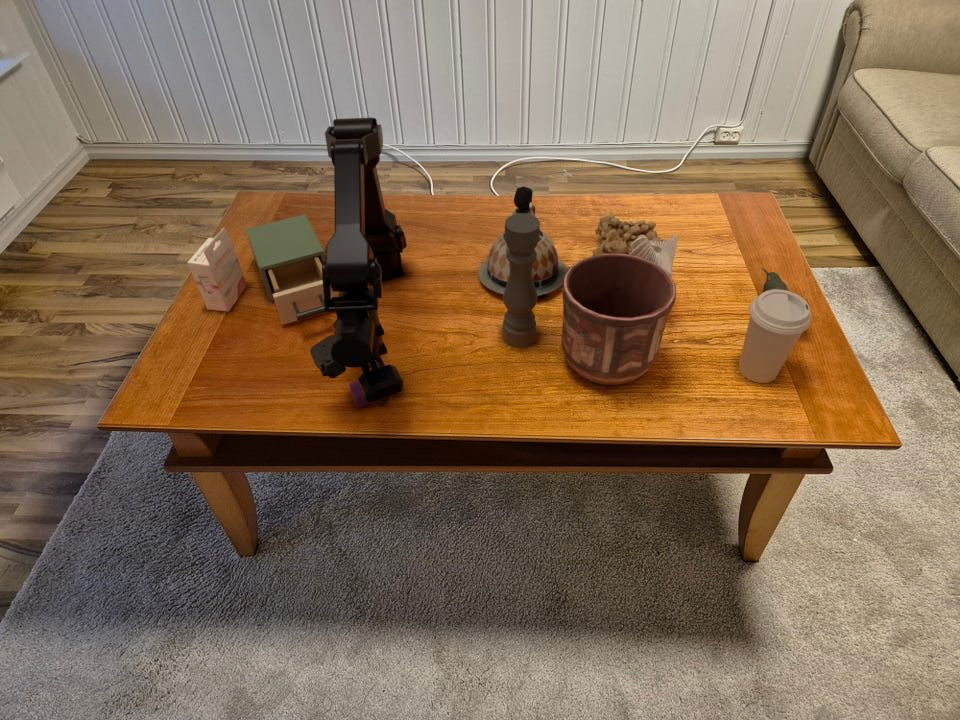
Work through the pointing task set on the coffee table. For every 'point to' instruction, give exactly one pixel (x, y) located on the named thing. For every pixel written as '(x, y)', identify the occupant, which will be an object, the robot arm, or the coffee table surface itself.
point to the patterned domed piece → (544, 268)
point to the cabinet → (283, 245)
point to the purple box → (359, 394)
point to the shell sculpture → (656, 251)
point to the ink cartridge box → (218, 272)
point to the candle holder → (520, 280)
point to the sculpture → (774, 282)
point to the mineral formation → (622, 235)
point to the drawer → (298, 289)
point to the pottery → (614, 316)
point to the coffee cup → (772, 333)
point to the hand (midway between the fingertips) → (374, 388)
